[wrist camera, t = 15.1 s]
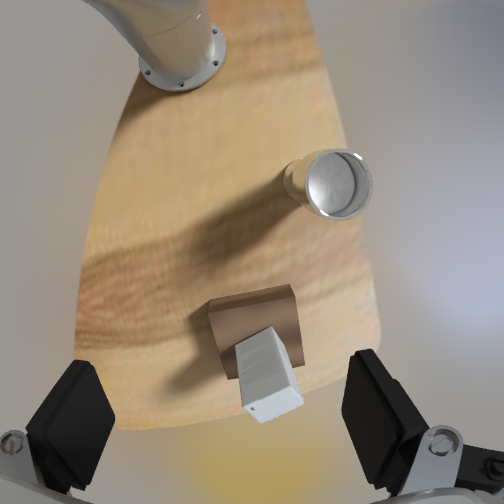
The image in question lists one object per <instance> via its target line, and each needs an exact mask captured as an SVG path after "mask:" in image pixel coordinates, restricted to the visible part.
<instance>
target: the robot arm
mask: <svg viewBox="0 0 504 504" xmlns="http://www.w3.org/2000/svg"><path fill="white" fill-rule="evenodd" d="M81 1H83V2H85V3H87V4H89V5H90V6H92V7H93V8H95V9H96V10H97V11H99V12H100V13H101V14H102V15H103V16H104V17H105V18H106V19H107V20H108V21H109V22H110V23H111V24H112V25H113V26H114V27H115V28H116V29H117V31H118V32H119V33H120V34H121V35H122V36H123V37H124V38H125V39H126V41H127V42H128V43H129V44H130V45H131V46H132V47H133V48H134V49H135V50H136V51H137V52H138V54H139V67H140V70H141V72H142V74H143V76H144V77H145V78H146V80H147V81H148V82H150V83H151V84H152V85H153V86H155V87H157V88H159V89H162V90H165V91H172V92H180V91H187V90H191V89H194V88H196V87H199V86H201V85H203V84H204V83H206V82H208V81H209V80H210V79H211V78H213V77H214V76H215V75H216V74H217V72H218V71H219V70H220V69H221V67H222V65H223V63H224V60H225V57H226V50H227V48H226V41H225V38H224V35H223V34H222V32H221V30H220V29H219V28H218V27H217V26H216V25H214V24H213V23H211V22H210V17H209V12H208V7H207V2H206V0H81ZM214 33H217V34H214ZM215 64H218V65H217V66H214V65H215ZM149 73H151V74H150V75H148V74H149ZM181 85H184V86H183V87H181ZM341 410H342V417H343V419H344V421H345V424H346V427H347V429H348V431H349V434H350V437H351V440H352V442H353V445H354V447H355V450H356V453H357V455H358V458H359V460H360V463H361V465H362V468H363V471H364V473H365V476H366V479H367V481H368V483H369V484H374V487H375V489H376V490H377V489H380V488H383V487H386V489H387V491H388V492H389V493H390V494H389V496H388V498H387V499H385V500H382V501H378V502H374V503H371V504H504V452H500V451H495V450H489V449H483V448H478V447H473V446H469V445H465V444H463V438H462V436H461V434H460V433H459V432H458V431H457V430H456V429H454V428H452V427H449V426H443V425H440V426H434V427H432V428H429V426H428V425H427V423H426V422H425V420H424V419H423V417H422V416H421V414H420V413H419V411H418V410H417V408H416V407H415V405H414V404H413V402H412V401H411V399H410V398H409V396H408V395H407V393H406V392H405V390H404V389H403V387H402V386H401V384H400V383H399V382H398V381H397V380H396V379H393V378H392V377H391V375H390V374H389V373H388V371H387V370H386V368H385V367H384V366H383V364H382V362H381V361H380V360H379V358H378V357H377V355H376V354H375V352H374V351H373V350H372V349H365V350H360V351H356V352H355V354H354V356H351V357H350V361H349V368H348V374H347V380H346V386H345V392H344V397H343V402H342V409H341ZM114 423H115V414H114V412H113V410H112V408H111V406H110V404H109V401H108V399H107V397H106V395H105V392H104V390H103V388H102V385H101V383H100V380H99V378H98V376H97V373H96V370H95V368H94V366H93V365H91V364H90V362H89V361H84V360H74V361H73V362H72V363H71V364H70V366H69V367H68V368H67V370H66V371H65V372H64V374H63V375H62V376H61V378H60V379H59V380H58V382H57V383H56V384H55V386H54V387H53V389H52V390H51V391H50V393H49V394H48V396H47V397H46V398H45V400H44V401H43V403H42V404H41V406H40V407H39V408H38V410H37V411H36V413H35V414H34V416H33V417H32V419H31V420H30V422H29V423H28V425H27V426H26V428H25V429H26V430H27V432H28V433H27V434H26V435H25V434H24V433H23V432H21V431H19V430H10V431H8V432H6V433H4V434H3V435H2V436H1V437H0V504H93V503H89V502H86V501H82V500H80V499H76V498H73V497H72V494H71V492H70V488H71V486H72V487H73V488H76V489H80V490H83V491H85V488H86V485H89V484H90V483H91V481H92V478H93V475H94V473H95V470H96V467H97V465H98V462H99V460H100V457H101V454H102V452H103V450H104V447H105V445H106V442H107V440H108V437H109V434H110V432H111V430H112V427H113V425H114Z"/></svg>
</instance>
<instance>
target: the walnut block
mask: <svg viewBox="0 0 504 504" xmlns="http://www.w3.org/2000/svg"><path fill="white" fill-rule="evenodd" d="M207 314H208V318H209V321H210V325H211V328H212V331H213V334H214V338H215V341H216V344H217V347H218V351H219V354H220V357H221V360H222V363H223V366H224V369H225V372H226V375H227V378H228V380H229V379H236V378H239V376H238V367H237V358H236V350H235V345H237V344H239V343H241V342H242V341H244V340H246V339H248V338H250V337H252V336H254V335H256V334H258V333H260V332H262V331H263V330H265V329H267V328H269V327H272V328H273V329H274V331H275V332H276V334H277V335H278V337H279V338H280V340H281V341H282V343H283V344H284V346H285V349H286V352H287V354H288V357H289V360H290V363H291V366H292V368H295V367H299V366H303V365H305V362H304V354H303V347H302V340H301V333H300V326H299V319H298V313H297V306H296V300H295V295H294V293H293V291H292V288H291V286H290V284H287V285H282V286H277V287H272V288H267V289H262V290H258V291H253V292H247V293H242V294H237V295H232V296H227V297H222V298H216V299H211V300H210V303H209V307H208V312H207Z"/></svg>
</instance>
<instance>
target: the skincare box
mask: <svg viewBox="0 0 504 504" xmlns="http://www.w3.org/2000/svg"><path fill="white" fill-rule="evenodd" d="M235 350H236V358H237V367H238V376H239V384H240V392H241V400H242V407H243V408H244V409H245V410H246V411H247V412H248V413H249V414H250V415H252V416H253V417H254V418H255V419H256V420H257V421H258V422H259V423H264V422H266V421H268V420H270V419H272V418H275V417H277V416H279V415H282V414H284V413H286V412H288V411H290V410H293V409H295V408H297V407H299V406H301V405H303V404H304V399H303V397H302V394H301V391H300V388H299V385H298V383H297V380H296V377H295V374H294V371H293V369H292V366H291V363H290V360H289V357H288V354H287V352H286V349H285V346H284V344H283V343H282V341H281V340H280V338H279V337H278V335H277V334H276V332H275V331H274V329H273V328H272V327H269V328H267V329H265V330H263V331H262V332H260V333H258V334H256V335H254V336H252V337H250V338H248V339H246V340H244V341H242V342H241V343H239V344H237V345H235Z"/></svg>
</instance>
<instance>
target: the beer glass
mask: <svg viewBox="0 0 504 504" xmlns="http://www.w3.org/2000/svg"><path fill="white" fill-rule="evenodd" d="M283 186H284V189H285V191H286V192H287V194H288V195H289V196H290V197H291V198H293V199H294V200H296V201H298V202H299V203H300V204H301V205H302V206H303V207H304V208H305V209H307V210H308V211H310V212H311V213H313V214H316V215H318V216H321V217H324V218H328V219H330V220H335V221H344V220H348V219H351V218H354V217H355V216H357V215H358V214H360V213H361V212H362V211H363V210H364V209H365V207H366V206H367V204H368V203H369V201H370V198H371V194H372V189H373V181H372V176H371V173H370V170H369V168H368V166H367V164H366V163H365V162H364V161H363V159H362V158H360V157H359V156H358V155H357V154H355V153H354V152H352V151H349V150H346V149H339V148H337V149H322V150H317V151H314V152H312V153H309V154H308V155H306V156H304V157H303V158H302V159H297V160H295V161H293V162H292V163H290V164H289V165H288V166H287V168H286V169H285V172H284V175H283Z"/></svg>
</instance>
